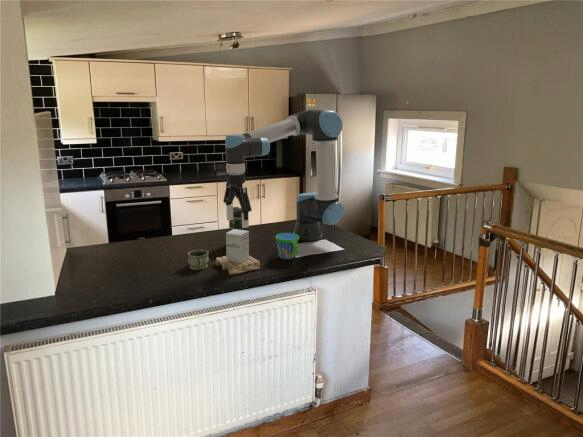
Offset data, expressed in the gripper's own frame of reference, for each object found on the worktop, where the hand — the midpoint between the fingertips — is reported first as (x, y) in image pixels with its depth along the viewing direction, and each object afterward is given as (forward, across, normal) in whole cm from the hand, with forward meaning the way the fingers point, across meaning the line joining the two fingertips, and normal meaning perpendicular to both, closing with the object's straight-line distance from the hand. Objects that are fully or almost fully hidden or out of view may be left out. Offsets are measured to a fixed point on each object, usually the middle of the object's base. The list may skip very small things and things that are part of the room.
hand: (237, 223), depth 194 cm
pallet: (+19, 0, -1) cm, 19 cm away
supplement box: (+16, 0, -1) cm, 16 cm away
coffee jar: (+20, -26, +13) cm, 35 cm away
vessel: (+19, -9, -15) cm, 26 cm away
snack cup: (+20, +2, +23) cm, 31 cm away
